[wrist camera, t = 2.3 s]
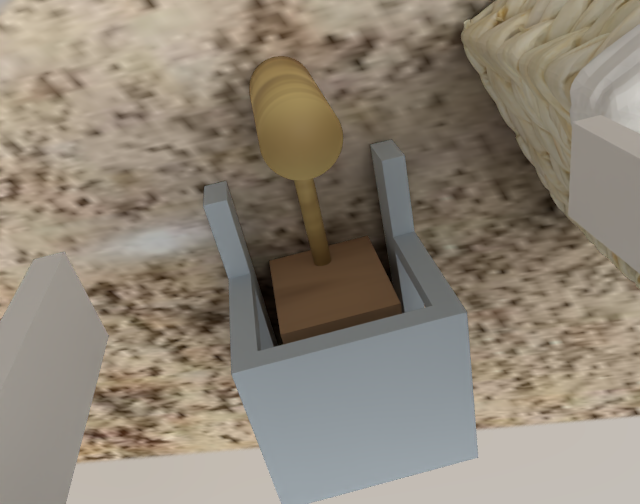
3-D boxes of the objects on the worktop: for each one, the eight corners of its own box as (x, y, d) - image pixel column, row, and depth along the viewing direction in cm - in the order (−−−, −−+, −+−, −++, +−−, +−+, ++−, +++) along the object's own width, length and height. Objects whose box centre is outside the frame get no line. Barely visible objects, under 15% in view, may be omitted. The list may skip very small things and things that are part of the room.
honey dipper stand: (381, 314, 36) (419, 404, 29) (291, 337, 36) (309, 433, 29) (333, 42, 27) (371, 80, 20) (213, 71, 27) (212, 119, 20)
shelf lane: (418, 337, 37) (478, 457, 29) (268, 376, 37) (283, 510, 29) (391, 139, 30) (459, 221, 22) (204, 186, 30) (198, 288, 21)
